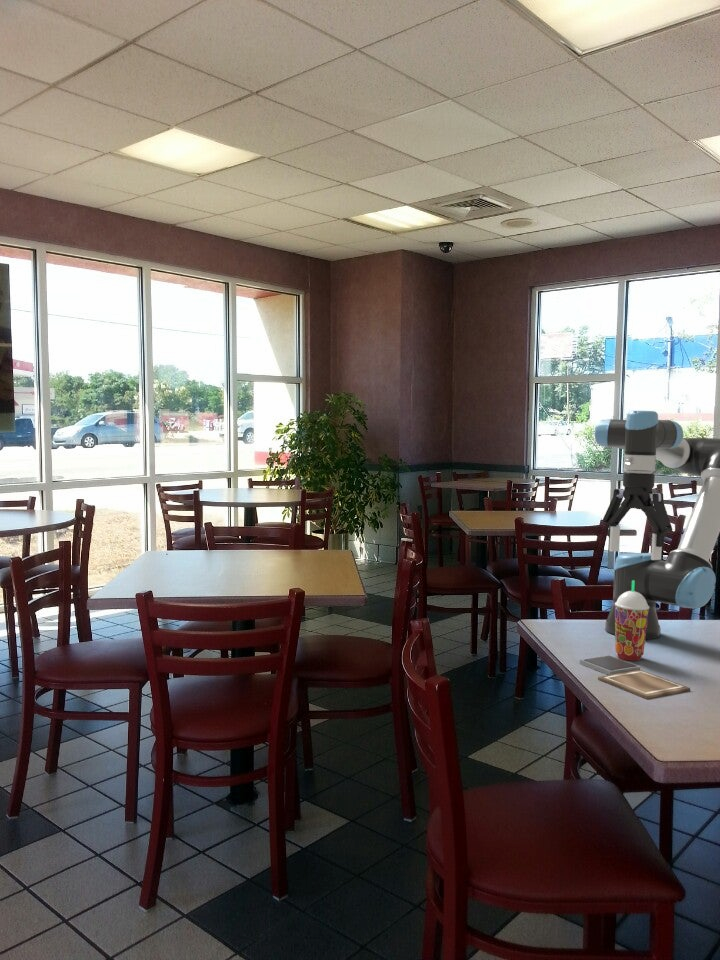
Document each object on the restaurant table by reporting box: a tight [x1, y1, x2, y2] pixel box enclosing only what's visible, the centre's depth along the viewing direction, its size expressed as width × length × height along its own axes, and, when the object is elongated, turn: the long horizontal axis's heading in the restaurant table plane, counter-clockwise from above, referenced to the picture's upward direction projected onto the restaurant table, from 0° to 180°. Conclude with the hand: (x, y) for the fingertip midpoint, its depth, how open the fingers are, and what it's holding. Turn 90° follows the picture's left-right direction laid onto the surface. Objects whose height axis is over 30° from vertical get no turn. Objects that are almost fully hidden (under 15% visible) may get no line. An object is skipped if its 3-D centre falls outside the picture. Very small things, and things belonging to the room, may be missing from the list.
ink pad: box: [579, 654, 641, 675], centre depth 189 cm, size 10×10×1 cm
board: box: [597, 669, 691, 700], centre depth 176 cm, size 14×14×1 cm
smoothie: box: [614, 580, 650, 662], centre depth 197 cm, size 8×8×20 cm
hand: (634, 555), depth 196 cm, fingers open, 13 cm apart
